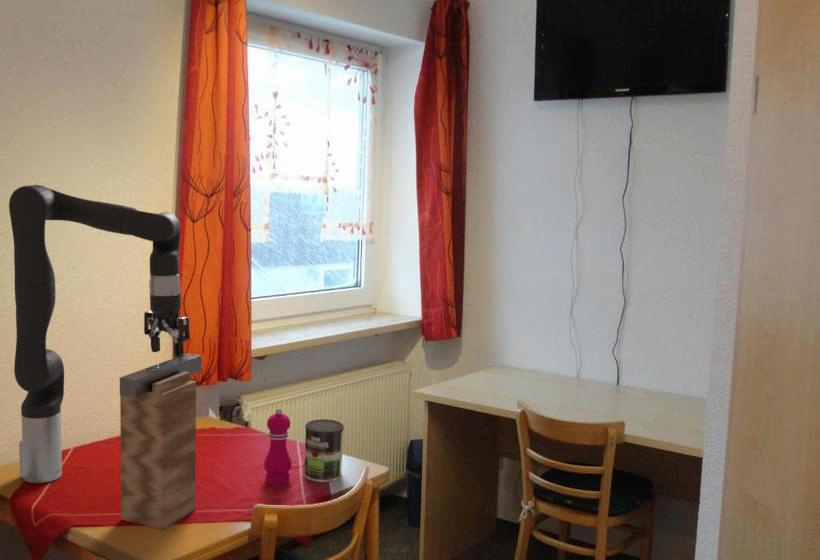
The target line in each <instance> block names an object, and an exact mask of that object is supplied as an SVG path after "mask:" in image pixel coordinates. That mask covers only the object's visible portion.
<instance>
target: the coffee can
mask: <svg viewBox="0 0 820 560" xmlns="http://www.w3.org/2000/svg"><path fill="white" fill-rule="evenodd" d="M344 426H345V425H344V424H343V423H342V422H340V421H337V420H334V419H325V418H322V419H315V420H310V421H308V422H306V423H305V425H304V428H305V438H304V439H305V441H304V445H305V446H304V473H303V476H304V478H305V479H307V480H309V481H311V482H315V483H330V482H331V483H332V482H335V481H337V480H339V479H340V478H341V477H342V467H343V466H342V465H343V464H342V463H343V441H344V439H343V438H344V428H345V427H344Z"/></svg>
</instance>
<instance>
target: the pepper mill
mask: <svg viewBox="0 0 820 560" xmlns="http://www.w3.org/2000/svg"><path fill="white" fill-rule="evenodd" d="M266 426H267V429H268V430H269V432H268V438H269V439H270V441H269V442H270V445H269V450H268V452H267V454H266V456H265V458H264V462H263V468H264V470H265V472H266V473H265V480H264V481H265V482H266V484H269V485H271V486H283V485H286V484H287V483H289V482H290V473H289V471H290V470H292V469H291V468H292V465H293V464H292V458H291V456H290V454H289V451H288V448H287V439H288V437H289V431H288V430H289V429H290V427H291V419H290V417H289V416H288V415H287V414H285V413H283V409H282V408H281V407H278V408H276V410H275V413H273V414H271V415H270V416H269V417H268V419H267V422H266Z"/></svg>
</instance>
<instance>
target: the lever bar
mask: <svg viewBox="0 0 820 560" xmlns="http://www.w3.org/2000/svg"><path fill="white" fill-rule="evenodd" d="M202 360H203V357H202V354H201V355H200V354H195V353H194V354H193V353H189V352H188V353H187V352H186V353H185V354H183V355H182V356H179V357H174V358H171V359H168V360H164V361H162V362H159V363H156V364H155V365H151V366H148V367H146V368H142V369H140V370H137V371H134V372H131V373H129V374H126V375H123V376H120V377H119V396H120V395H121V396H127V397H133V398H136V397H138V396H141V395H143V394H146V393H148V392H151V391H152V384H153V383H156V382H158V381H161V380H163V379H166V378H169V377H171V376H174V375H176V374H179V373H181V372H184V371H186V372H190V377H191V376H193V375H195V374H198V373H200V372H202V366H203V365H202V362H203V361H202Z"/></svg>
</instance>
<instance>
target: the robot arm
mask: <svg viewBox="0 0 820 560" xmlns="http://www.w3.org/2000/svg"><path fill="white" fill-rule="evenodd" d="M8 208H9V209H8V210H9V211H8V212H9V217H10V223H11V229H12V231H11V232H12V237H13V239H12V240H13V259H14V260H13V265H14V300H15V301H14V302H15V328H16V339H15V340H16V341H15V342H16V345H15V353H14V366H13V367H14V368H13V371H14V378H15V380H16V383H17V385H18V386H19V387H20V388H21V389H22V390H24V391H25V392H27V394H26V396H25V398H24V400H23V401H22V403H21V406H20V407H21V408H20V411H21V413H20V414H21V441H19V443H18V450H19V451H18V453H19V477H20V478H22V479H23V480H24V482H26V483H29V484H31V483H32V484H43V483H49V482H53V481H55V480H57V479H59V478H61V477H62V476H63V472H62V471H63V469H62V468H63V465H62V463H63V462H62V461H63V459H62V411H61V407H62V402H63V401H64V394H65V392H64V391H65V390H64V389H65V366H64V363H63V360H62V357H61V356H60V355H59V354H58V353H57V352H56V351H54V350H52V349H49V348H47V333H48V329H49V326H50V322H51V319H52V317H53V312H54V309H55V306H56V295H57V294H56V276H55V271H54V268H53V265H52V262H51V259H50V255H49V254H48V251H47V246H46V238H45V237H46V221H65V222H73V223H77V224H81V225H85V226H88V227H90V228H94V229H97V230H101V231H104V232H108V233H113V234H115V233H116V234H120V235H126V236H127V235H128V236H133V237H135V238H139V239H142V240H146V241H149V242H152V250H151V253H150V255H149V284H148V285H149V286H148V287H149V309H150V311H145V312H144V313H143V314H144V315H143V316H144V317H143V318H144V319H143V323H144V324H143V325H144V326H143V329H144V330H143V333H144V335H145V336H146V335H147V336H148V337H149V338H150V349H151V352H152V353H158V352H160V351H161V342H160V341H161V337H160V335H161V333H162V332H165V333H168V336H170V337H171V338H172V340H173V342H174V343H173V349H174V351H173V352H174V358H176V357H179V356H182V355H184V342H186V341H189V340H190V339H191V338H190V323H189V321H190V319H189V317H188V316H182V317H181V316H180V315H179V311H180V310H181V309H182V297H181V296H182V295H181V294H182V292H181V291H182V290H181V278H180V268H179V267H180V266H179V265H180V262H179V250H180V249H179V248H180V241H181V240H180V239H181V224H180V221H179V219H178V218H177V216H175V214H173V213H171V212H167V211H164V212H163V211H162V212H160V213H155V212H149V211H142V210H140V209H138V208H135V207H132V206H128V205H127V206H126V205H122V204H117V203H116V204H115V203H109V202H102V201H96V200H92V199H91V200H90V199H86V198H80V197H76V196H73V195H69V194H66V193H62V192H59V191H57V190H54V189H52V188H49V187H46V186H44V185H40V184H32V185H31V184H30V185H24V186H20V187H18V188H16V189H15V190H14V191H13V192H12V193H11V195H10V197H9V202H8Z"/></svg>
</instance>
